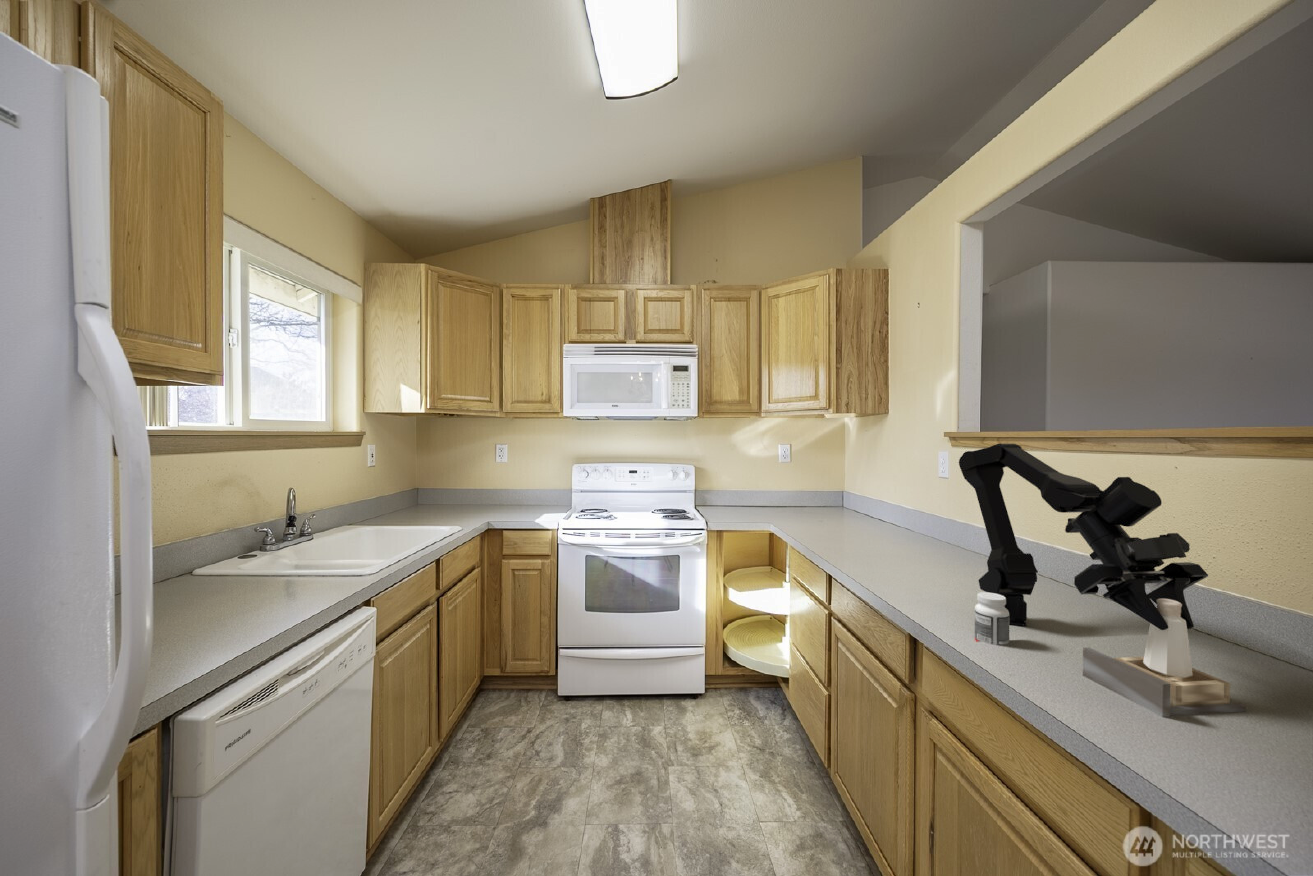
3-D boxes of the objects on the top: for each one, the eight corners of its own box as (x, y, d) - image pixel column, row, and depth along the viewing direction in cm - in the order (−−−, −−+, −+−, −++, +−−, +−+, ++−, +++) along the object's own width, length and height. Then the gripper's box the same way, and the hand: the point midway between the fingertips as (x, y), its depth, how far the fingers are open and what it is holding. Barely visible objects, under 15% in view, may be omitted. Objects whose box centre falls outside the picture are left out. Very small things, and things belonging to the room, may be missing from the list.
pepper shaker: (1192, 670, 77) (1194, 601, 77) (1192, 682, 73) (1194, 610, 73) (1144, 658, 81) (1145, 592, 81) (1141, 669, 77) (1143, 600, 77)
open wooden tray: (1135, 668, 88) (1136, 634, 88) (1251, 720, 72) (1252, 680, 72) (1053, 671, 86) (1053, 638, 86) (1152, 726, 70) (1153, 685, 70)
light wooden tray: (1162, 676, 82) (1162, 655, 82) (1229, 706, 73) (1230, 683, 73) (1113, 678, 81) (1113, 657, 81) (1175, 709, 72) (1175, 686, 72)
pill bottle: (1003, 641, 99) (1004, 592, 98) (1013, 653, 93) (1014, 602, 93) (970, 637, 100) (971, 589, 100) (979, 649, 95) (979, 598, 95)
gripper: (1091, 516, 80) (1164, 607, 69) (1196, 514, 81) (1283, 604, 71) (1048, 551, 88) (1107, 638, 77) (1144, 549, 89) (1215, 635, 79)
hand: (1178, 628), depth 76 cm, fingers closed on pepper shaker, 4 cm apart
